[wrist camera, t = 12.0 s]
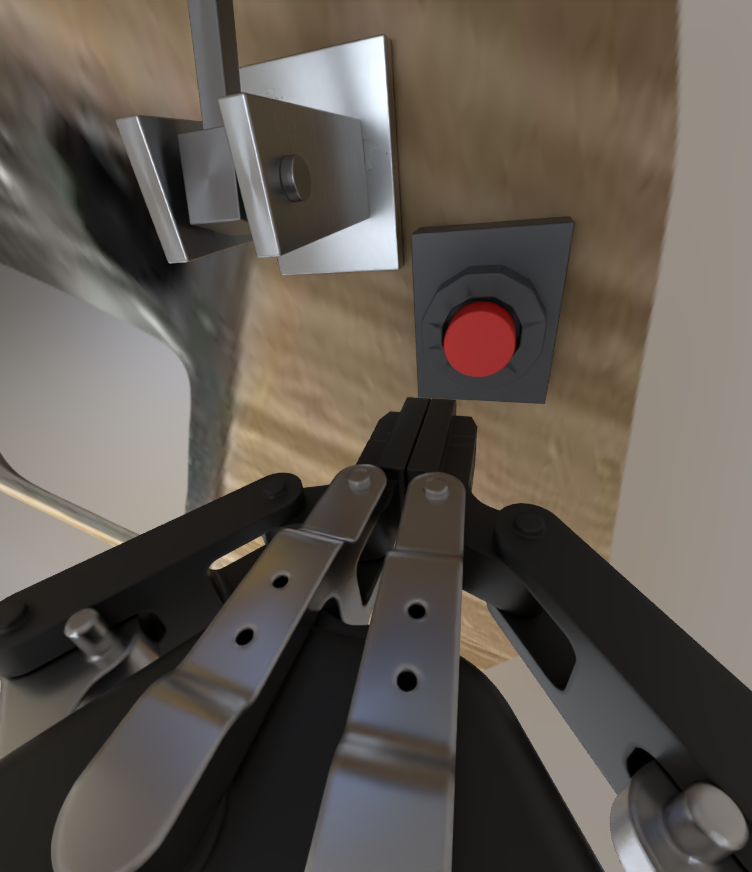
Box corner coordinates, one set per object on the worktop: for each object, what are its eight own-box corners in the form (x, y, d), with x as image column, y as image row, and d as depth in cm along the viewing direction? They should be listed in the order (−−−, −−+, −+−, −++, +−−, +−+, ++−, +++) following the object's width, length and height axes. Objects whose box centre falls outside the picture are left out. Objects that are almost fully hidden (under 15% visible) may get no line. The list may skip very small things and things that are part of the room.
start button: (448, 301, 21) (443, 311, 19) (519, 299, 20) (519, 310, 18) (447, 363, 23) (443, 376, 21) (512, 365, 22) (511, 378, 20)
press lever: (144, -161, 13) (72, -254, 11) (289, -229, 11) (238, -355, 9) (199, 238, 17) (153, 228, 15) (314, 229, 15) (282, 215, 13)
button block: (418, 227, 22) (402, 239, 19) (570, 216, 20) (579, 227, 17) (424, 382, 28) (412, 411, 25) (543, 387, 26) (546, 419, 23)
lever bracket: (246, 72, 21) (28, 5, 11) (391, 39, 18) (263, -78, 9) (289, 271, 26) (166, 333, 17) (404, 265, 24) (333, 334, 15)
